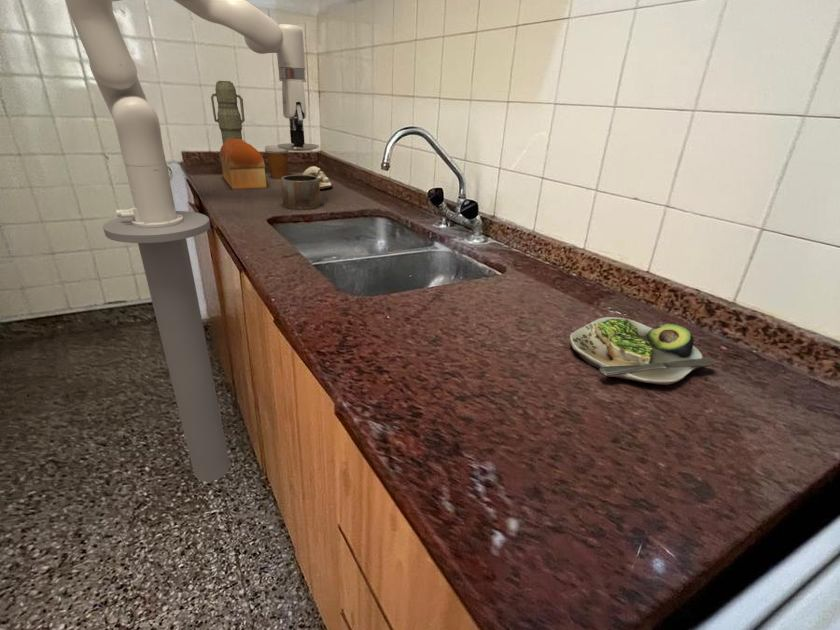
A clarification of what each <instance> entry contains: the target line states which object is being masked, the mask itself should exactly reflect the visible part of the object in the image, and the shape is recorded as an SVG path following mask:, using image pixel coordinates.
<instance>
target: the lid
mask: <svg viewBox="0 0 840 630" xmlns="http://www.w3.org/2000/svg"><path fill="white" fill-rule="evenodd" d="M292 129H293V124H292ZM293 130H294V129H293ZM277 146H278V148H282V149H284V150H289V151H288V152H290V151H291V152H310V151H314V150H316V149H317V150H318V149H320V145H319V144H315V143H305V144H304V145H294V144H292V143H291V142H290V143H279V144H277Z"/></svg>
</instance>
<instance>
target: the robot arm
mask: <svg viewBox="0 0 840 630" xmlns="http://www.w3.org/2000/svg"><path fill="white" fill-rule="evenodd" d="M120 1H121V0H65V3H66V6H67V10H68V13H69V16H70V19H71V20H72V23H73V25H74V28H75V30H76V33H77V35H78V38H79V40H80V42H81V44H82V47H83V49H84V51H85V53H86V56H87V58H88V62H89V63H88V64H89V69H90V71H91V73H92V76H93V78H94V80H95V82H96V85H97V87H98V90H99V91H100V93H101V96H102V98H103V101H104V102H105V104H106V107H107V108H108V111H109V113H110V116H111V117H112V120H113V123H114V126H115V130H116V134H117V139H118V142H119V143H118V144H119V149H120V152H121V156H122V161H123V165H124V168H125V173H126V177H127V180H128V185H129V189H130V193H131V197H132V202H133V207H129V209H125V208H123V209H116V210H115V211H116V212H115V213H116V217H117V218H119V217H122V218H128V217H132V218H133V219H132V220H131V222H132V225H134V226H136V227H141V228H160V227H168V226H173V225H177V224H180V223H181V222H183V221H184V219H183V216H182V215H180V214H176V211H177V210H176V206H175V201H174V196H173V190H172V186H171V180H170V176H169V175H170V174H169V170H168V166H167V160H166V156H165V150H164V144H163V138H162V131H161V130H162V129H161V124H160V119H159V117H158V114H157V112H156V110H155V108H154V107H153V105H152V104H150V103H149V101H148V99H147V97H146V94H145V92H144V90H143V87H142V85H141V82H140V80H139V78H138V70H137V66H136V63H135V61H134V60H133V58H132V56H131V53H130V52H129V49H128V47H127V44H126V42H125V39H124V38H123V34H122V32H121V29H120V26H119V24H118V22H117V19H116V16H115V13H114V9H113V2H120ZM173 1H174V2H176V3H177V4H179V5H180V6H182V7H183V8H185V9H187V10H188V11H189V12H191V13H192V14H194V15H195V16H198V18H200V19H202V20H204V21H207V22H210V23H212V24H217V25H221V26H224V27H226V28H228V29H231V30H233V31H234V32H236V33H238V34H240V35H241V36H243V38H244V42H245V45H246V46H247V47H248V49H250V50H251V51H252V52H254V53H256V54H261V55H264V54H276V57H277V69H278V80H279V82H281V97H282V98H281V101H282V116H283V117H284V118H285V119H287V120H289V121H288V122H289V136H290V143H292V144H294V145H304V144H306V143H305V142H306V141H305V129H304V128H305V127H304V120H305V119H307V118H306V117H307V105H306V94H305V87H304V86H305V85H304V83H307V70H306V58H305V57H306V55H305V41H304V40H305V39H304V32H303V29H302V27H300V26H299V25H296V24H290V23H281V24H278V23H277V22H276V21H275V20H274V19H273V18H272V17H270V16H269V15H268V14H266V13H265V12H263V11H261V9H259V8H258V7H256V6H255V5H253V4H251V2H248V1H247V0H173ZM292 124H293V129H294V130H293V129H292Z"/></svg>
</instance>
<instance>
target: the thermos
mask: <svg viewBox="0 0 840 630" xmlns="http://www.w3.org/2000/svg"><path fill="white" fill-rule="evenodd" d="M214 90H215V93H212V94H211V96H210V100H211V107H212V113H213V121H214V122H216V123H217V124H218V128H219V130H220V134H221V140H222V145H223V144H224V142H226V141H227V140H228V139H242V140H243V134H242V131H243V124H244V122H245V121H246V119H245V118H246V117H245V110H244V109H245V107H244V99H243V97H242V96H241V95H240V94H237V90H236V86H235V85H234V83H233V82H232V81H230V80H218V81H216V82H215V89H214ZM214 97H216V102H217V114H216V108H215V99H214ZM238 99H239V105H240V110H239V106H238ZM240 112H241V113H240Z"/></svg>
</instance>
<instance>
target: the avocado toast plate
mask: <svg viewBox="0 0 840 630" xmlns="http://www.w3.org/2000/svg"><path fill="white" fill-rule="evenodd" d="M569 343H570V345H571V347H572V349H573V350H574V351H575V352H576V353H577V354H578V355H579V356H580V358H581V359H582V360H583V361H585V362H586V363H587V364H589V365H590V366H592V367H594V368H597V369H598V371H599V373H600V374H601V375H602V376H605V377H610V378H611V377H613V378H614V377H615V378H617V379H621V380H628V381H635V382H639V383H646V384H654V385H662V386H668V385H672V384H675V383H677V382H679V381H681V380H683V379H685V377H686V376H688V375H689V374H690V373H692V372H693V371H695V370H698V369H702V368H706V367H711V366H713V365H716V364H717V362H716V361H717V360H716V359H715V358H713V357H704V356H703V354H702V352H701V351H700V350H699V349H698V347H696V346H694V336H693V334H692V332H691V330H690V329H688V327H687V328H686V327H685V326H682V325H678V324H676V323H663V324H659V325H658V327H650V326H648V325H645V324H643V323H641V322H639V321H636V320H633V319H630V318H624V317H619V316H616V317H615V316H612V317H611V316H606V317H605V316H604V317H600V318H597V319H596V320H593V321H591V322H590V323H588V324H586V325H584V326H582V327H580V328H578V329H575V331H573V332H571V333H570V335H569Z"/></svg>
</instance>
